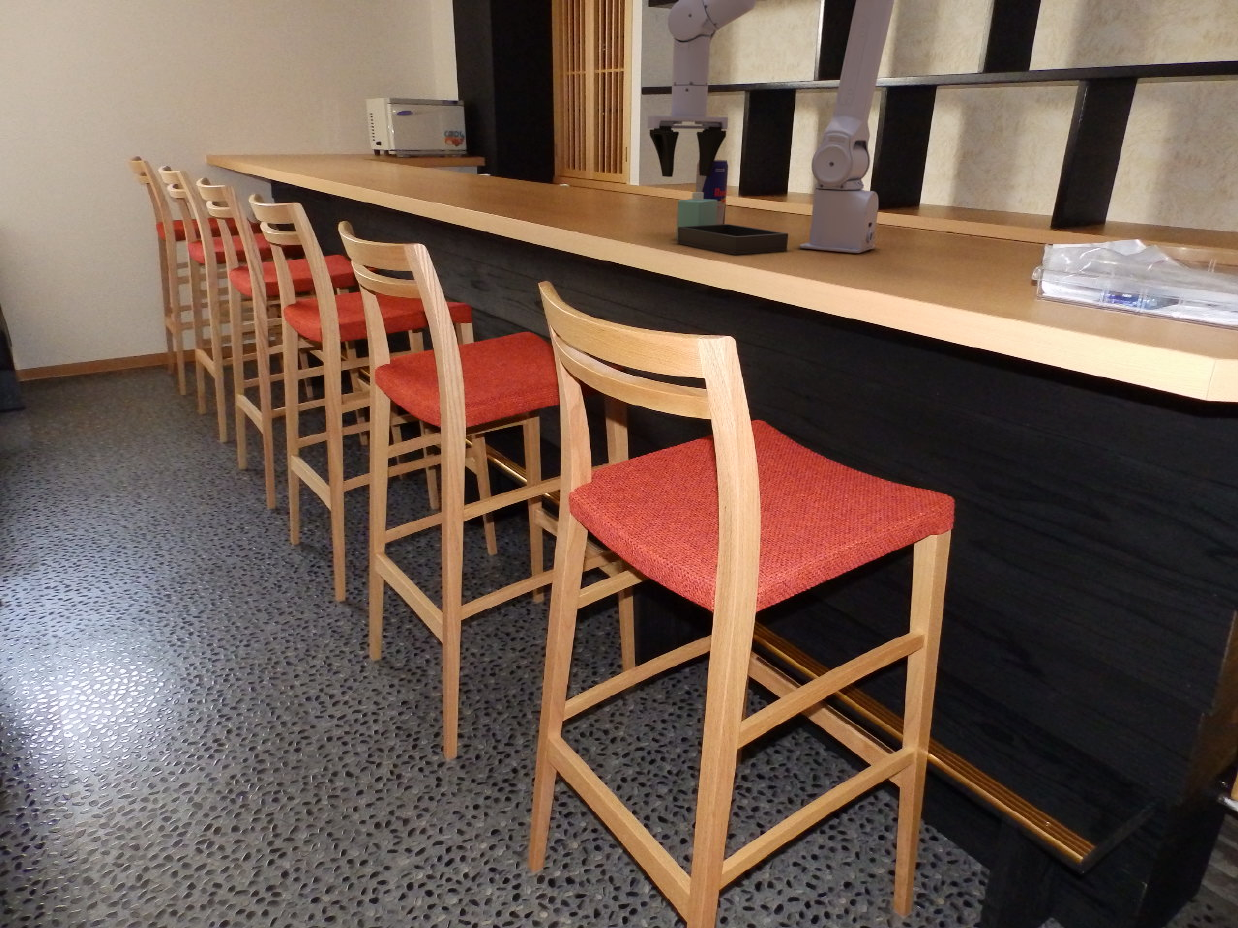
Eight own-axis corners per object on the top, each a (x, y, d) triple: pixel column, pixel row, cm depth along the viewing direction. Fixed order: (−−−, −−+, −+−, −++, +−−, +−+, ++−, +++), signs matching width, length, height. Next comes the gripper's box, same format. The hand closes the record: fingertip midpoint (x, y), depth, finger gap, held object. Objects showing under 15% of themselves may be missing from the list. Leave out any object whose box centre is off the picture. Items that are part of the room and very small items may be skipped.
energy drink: (722, 234, 145) (727, 161, 141) (691, 233, 146) (695, 160, 142) (725, 231, 150) (729, 160, 145) (695, 230, 151) (699, 159, 146)
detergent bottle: (715, 238, 140) (717, 192, 137) (697, 242, 135) (699, 194, 133) (694, 236, 142) (696, 191, 139) (676, 240, 137) (678, 192, 135)
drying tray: (786, 251, 127) (788, 233, 126) (735, 255, 122) (736, 237, 121) (726, 240, 138) (727, 224, 137) (677, 243, 133) (677, 227, 132)
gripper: (711, 88, 141) (707, 174, 146) (638, 85, 134) (636, 175, 139) (737, 87, 135) (732, 176, 140) (662, 84, 128) (659, 178, 133)
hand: (686, 176), depth 139 cm, fingers open, 7 cm apart
